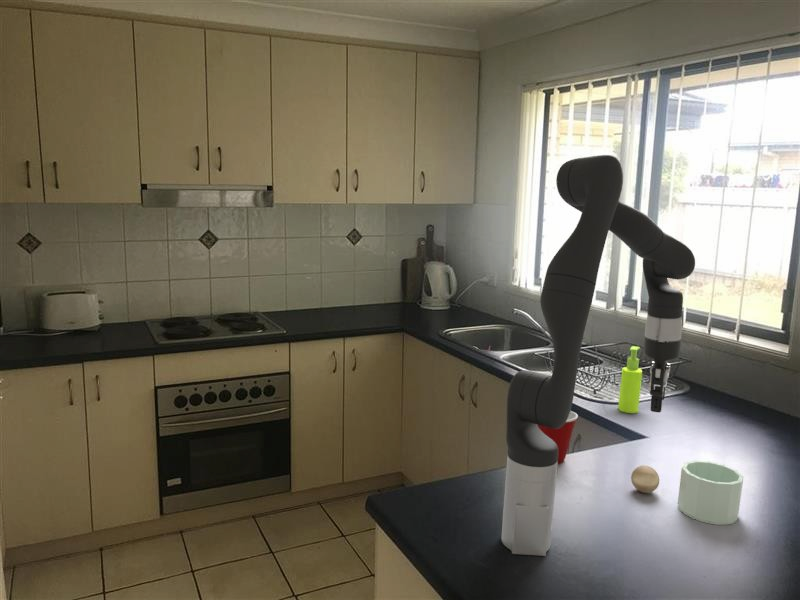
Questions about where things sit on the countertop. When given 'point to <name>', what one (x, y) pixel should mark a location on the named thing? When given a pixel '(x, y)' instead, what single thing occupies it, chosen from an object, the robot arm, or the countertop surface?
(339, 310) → the countertop surface
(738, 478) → the ceramic cup
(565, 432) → the plastic cup
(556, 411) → the robot arm
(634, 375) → the soap dispenser
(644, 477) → the wooden ball
